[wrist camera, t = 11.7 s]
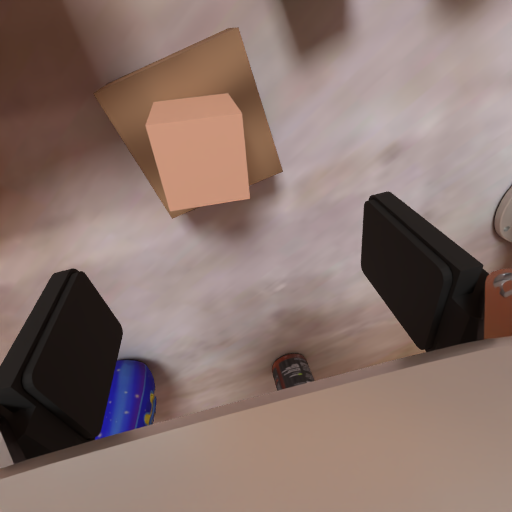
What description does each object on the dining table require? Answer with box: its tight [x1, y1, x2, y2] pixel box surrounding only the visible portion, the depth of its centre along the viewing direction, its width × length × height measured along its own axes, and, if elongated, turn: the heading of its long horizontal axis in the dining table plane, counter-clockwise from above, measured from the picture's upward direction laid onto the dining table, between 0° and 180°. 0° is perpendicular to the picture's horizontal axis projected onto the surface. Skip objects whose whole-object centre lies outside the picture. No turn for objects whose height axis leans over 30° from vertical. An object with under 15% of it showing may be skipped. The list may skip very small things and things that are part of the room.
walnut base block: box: [94, 28, 283, 218], centre depth 24 cm, size 10×10×5 cm
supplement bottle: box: [272, 354, 314, 391], centre depth 45 cm, size 6×6×11 cm
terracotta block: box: [145, 93, 250, 211], centre depth 19 cm, size 5×5×6 cm
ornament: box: [95, 360, 156, 440], centre depth 37 cm, size 11×9×15 cm
